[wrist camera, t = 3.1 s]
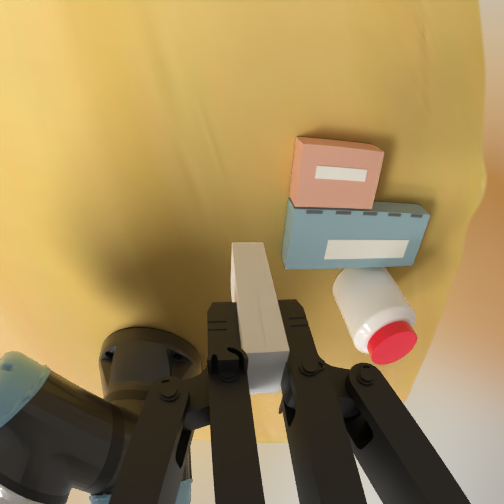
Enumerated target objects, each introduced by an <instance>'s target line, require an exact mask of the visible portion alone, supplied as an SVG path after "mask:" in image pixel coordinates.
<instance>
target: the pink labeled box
mask: <svg viewBox="0 0 504 504" xmlns="http://www.w3.org/2000/svg"><path fill="white" fill-rule="evenodd" d="M384 153H385V152H384V151H382V150H381V149H379V148H378V147H376V146H375V145H373V144H365V143H357V142H349V141H340V140H330V139H319V138H308V137H296V141H295V150H294V159H293V168H292V176H291V184H290V193H289V196H290V198H291V200H292V202H293V204H294V206H295V207H326V208H354V209H372V206H373V202H374V198H375V194H376V190H377V185H378V181H379V176H380V172H381V167H382V163H383V158H384Z"/></svg>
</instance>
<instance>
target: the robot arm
mask: <svg viewBox="0 0 504 504" xmlns="http://www.w3.org/2000/svg"><path fill="white" fill-rule="evenodd" d="M231 297H232V302H214V303H212V304H211V306H210V308H209V310H208V311H207V316H208V359H207V366H206V368H205V369H204V371H203V372H202V363H201V358H200V355H199V354H198V352H197V351H196V349H195V348H194V347H193V346H192V345H191V344H189V343H188V342H187V341H185V340H184V339H182V338H180V337H178V336H176V335H174V334H171V333H168V332H165V331H161V330H157V329H151V328H129V329H124V330H120V331H117V332H115V333H113V334H111V335H110V336H109V337H108V338H107V339H106V340H105V341H104V343H103V345H102V348H101V352H100V356H99V369H100V376H101V382H102V388H103V394H104V399H102V398H100V397H98V396H96V395H94V394H92V393H90V392H88V391H87V390H85V389H83V388H81V387H79V386H77V385H76V384H74V383H72V382H70V381H68V380H67V379H65V378H63V377H62V376H60V375H58V374H56V373H55V372H53V371H52V370H51V369H50V368H49V367H47V366H46V365H41V364H39V363H38V362H36V361H34V360H32V359H31V358H29V357H27V356H26V355H24V354H22V353H20V352H17V351H11V352H8V353H6V354H4V355H3V356H2V357H1V358H0V504H66V502H67V499H68V495H69V492H70V490H71V488H75V489H79V490H82V491H85V492H88V493H91V496H90V497H89V499H90V501H91V504H190V501H191V483H192V475H191V474H192V473H191V455H190V454H191V453H190V445H191V441H192V437H193V433H194V430H195V429H198V428H201V427H204V426H207V425H210V429H211V446H212V462H213V477H214V491H215V503H216V504H265V500H264V493H263V487H262V479H261V473H260V465H259V458H258V452H257V444H256V436H255V429H254V421H253V414H252V406H251V399H250V394H265V393H278V392H279V391H280V387H281V389H282V394H283V397H282V400H281V404H280V407H279V414H281V413H282V411H283V416H284V422H285V427H286V432H287V438H288V443H289V449H290V454H291V458H292V464H293V470H294V475H295V481H296V486H297V491H298V497H299V502H300V504H367V502H366V498H365V495H364V490H363V487H362V483H361V479H360V476H359V472H358V468H357V465H356V461H355V458H354V455H355V456H356V458H357V460H358V462H359V464H360V465H361V467H362V468H363V470H364V472H365V474H366V475H367V477H368V479H369V480H370V482H371V484H372V486H373V487H374V489H375V491H376V492H377V494H378V495H379V497H380V499H381V501H382V502H383V504H471V503H470V502H469V500H468V499H467V497H466V496H465V494H464V493H463V491H462V490H461V488H460V486H459V485H458V483H457V482H456V480H455V479H454V477H453V476H452V474H451V473H450V471H449V470H448V468H447V467H446V465H445V464H444V462H443V461H442V459H441V458H440V456H439V455H438V454H437V452H436V450H435V449H434V447H433V446H432V444H431V443H430V442H429V440H428V439H427V437H426V436H425V434H424V433H423V432H422V430H421V429H420V427H419V426H418V424H417V423H416V421H415V420H414V418H413V417H412V416H411V414H410V413H409V411H408V410H407V408H406V407H405V406H404V404H403V403H402V401H401V400H400V398H399V397H398V396H397V394H396V393H395V391H394V390H393V389H392V387H391V386H390V384H389V383H388V382H387V380H386V379H385V377H384V376H383V375H382V373H381V372H380V371H379V370H378V369H377V368H376V367H375V366H373V365H371V364H368V363H359V364H356V365H354V366H353V367H352V368H351V370H349V369H343V368H337V367H333V366H330V365H328V364H326V363H325V361H324V360H322V359H321V358H320V357H319V355H318V353H317V350H316V347H315V344H314V341H313V337H312V334H311V331H310V328H309V326H308V321H307V319H306V315H305V312H304V309H303V307H302V306H301V305H300V304H299V302H298V301H297V300H296V299H293V300H277V297H276V292H275V288H274V284H273V280H272V276H271V272H270V268H269V264H268V260H267V256H266V252H265V248H264V244H263V242H232V254H231ZM353 453H354V454H353Z"/></svg>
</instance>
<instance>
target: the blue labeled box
mask: <svg viewBox="0 0 504 504" xmlns="http://www.w3.org/2000/svg"><path fill="white" fill-rule="evenodd" d="M429 218H430V214H429V213H428V212H427V211H426V210H425V209H424V208H423V207H422V206H421V205H419V204H407V203H393V202H377V201H374V202H373V206H372V209H354V208H326V207H295V206H294V204H293V202H292V200H291V198H289V199H288V207H287V214H286V222H285V230H284V238H283V245H282V253H281V257H282V261H283V264H284V267H285V270H299V269H335V268H366V267H394V266H412V265H413V263H414V260H415V257H416V255H417V252H418V249H419V247H420V244H421V241H422V238H423V236H424V233H425V230H426V227H427V224H428V221H429Z"/></svg>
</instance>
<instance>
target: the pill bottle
mask: <svg viewBox="0 0 504 504" xmlns="http://www.w3.org/2000/svg"><path fill="white" fill-rule="evenodd" d="M332 293H333V296H334V299H335V301H336V303H337V306H338V308H339V310H340V313H341V315H342V317H343V320H344V322H345V324H346V327H347V329H348V331H349V334H350V336H351V338H352V341H353V343H354V345H355V347H356V348H357V349H358V350H359V351H360V352H363V353H367V354H370V357H371V359H372V361H373V362H374V363H376V364H380V365H382V364H389V363H392V362H395V361H397V360H399V359H401V358H402V357H404V356H405V355H406V354H407V353H409V352H410V351H411V350H412V348H413V347H414V346H415V344H416V341H417V335H416V333H415V331H414V330H413V327H414V325H415V321H416V315H415V312H414V310H413V308H412V307H411V305H410V304H409V302H408V300H407V299H406V297H405V296H404V294H403V293H402V291H401V290H400V288H399V287H398V285H397V283H396V282H395V280H394V279H393V277H392V276H391V274H390V273H389V271H388V270H387V269H386V267H366V268H345V269H344V270H343V271H342V272H341V273H340V274H339V275H338V276H337V278H336V280H335V282H334V284H333V292H332Z"/></svg>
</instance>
